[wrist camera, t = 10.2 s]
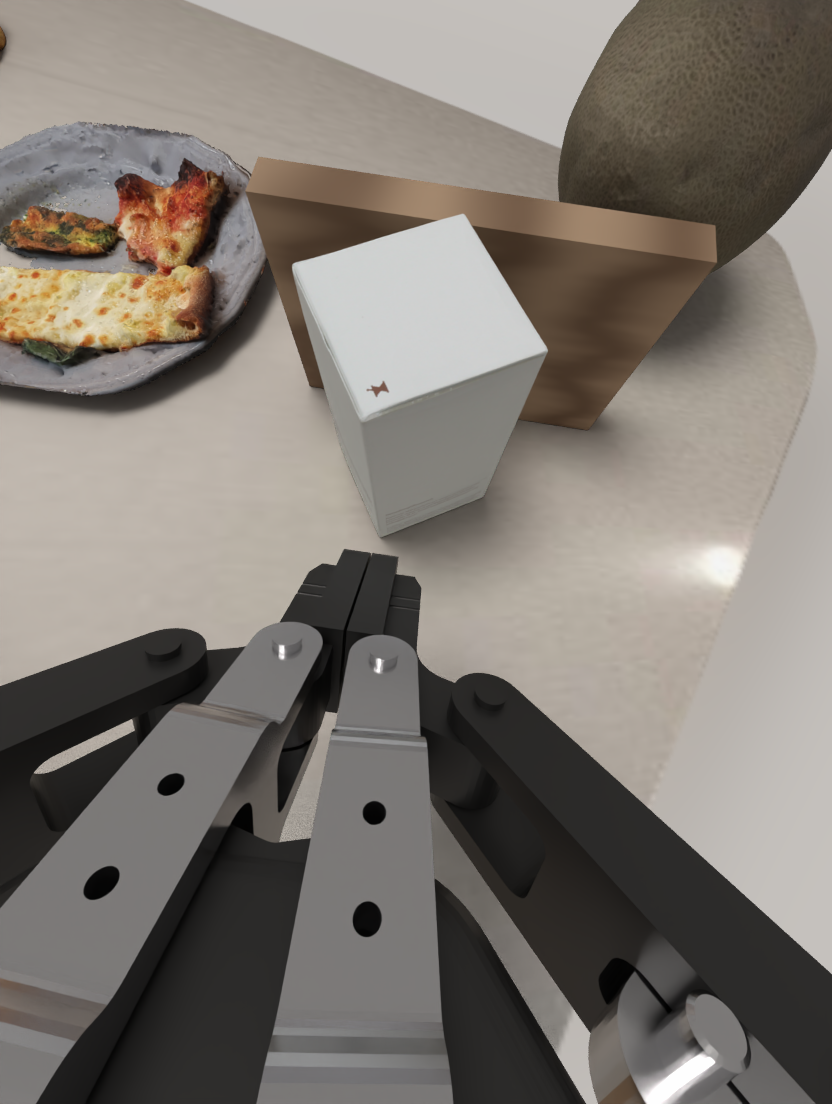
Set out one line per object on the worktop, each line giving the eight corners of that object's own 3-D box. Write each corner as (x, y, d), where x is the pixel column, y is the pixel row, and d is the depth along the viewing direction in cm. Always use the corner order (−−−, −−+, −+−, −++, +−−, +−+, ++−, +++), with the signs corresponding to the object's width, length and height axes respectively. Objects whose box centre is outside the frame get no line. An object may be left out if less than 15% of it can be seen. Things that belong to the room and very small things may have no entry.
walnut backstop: (309, 385, 28) (245, 191, 17) (316, 361, 29) (258, 156, 17) (588, 430, 28) (716, 262, 16) (589, 404, 29) (715, 225, 17)
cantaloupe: (513, 207, 33) (597, -144, 19) (685, 205, 34) (892, -138, 20) (538, 354, 30) (666, 55, 15) (730, 349, 30) (1030, 55, 16)
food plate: (307, 175, 33) (295, 119, 30) (233, 431, 28) (207, 399, 24) (10, 143, 34) (-34, 86, 31) (-123, 385, 29) (-197, 347, 25)
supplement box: (487, 498, 27) (557, 354, 14) (377, 540, 26) (354, 423, 13) (440, 404, 28) (468, 205, 16) (337, 440, 27) (283, 257, 15)
